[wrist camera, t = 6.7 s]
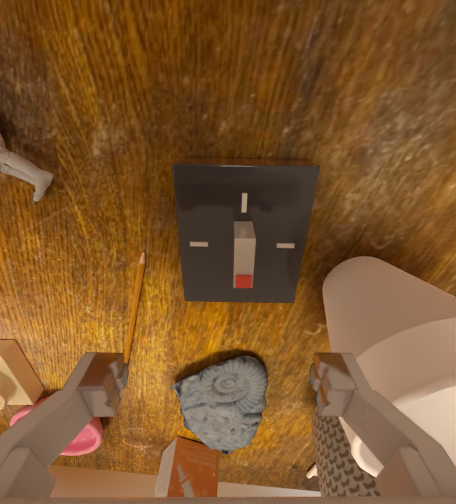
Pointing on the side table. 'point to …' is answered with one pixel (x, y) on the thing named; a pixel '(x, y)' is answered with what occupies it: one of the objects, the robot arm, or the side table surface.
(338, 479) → the planter
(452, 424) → the pale flower pot
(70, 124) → the side table surface
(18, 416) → the saucer
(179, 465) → the small box
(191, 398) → the fossil
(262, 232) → the switch housing
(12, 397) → the button box
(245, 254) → the stove knob
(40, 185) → the soldier figure
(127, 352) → the pencil
